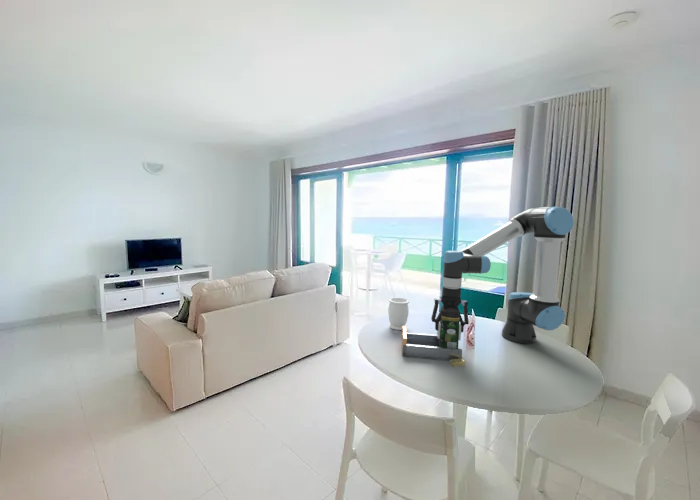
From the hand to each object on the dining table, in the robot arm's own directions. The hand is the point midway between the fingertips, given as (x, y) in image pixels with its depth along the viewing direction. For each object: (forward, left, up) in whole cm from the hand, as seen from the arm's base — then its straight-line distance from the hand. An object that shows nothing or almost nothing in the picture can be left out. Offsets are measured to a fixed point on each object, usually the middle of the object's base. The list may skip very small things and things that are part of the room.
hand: (448, 338), depth 134 cm
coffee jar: (0, 0, -4) cm, 4 cm away
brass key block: (-2, +10, -7) cm, 12 cm away
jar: (+22, -27, -7) cm, 35 cm away
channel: (+8, 0, -7) cm, 10 cm away
